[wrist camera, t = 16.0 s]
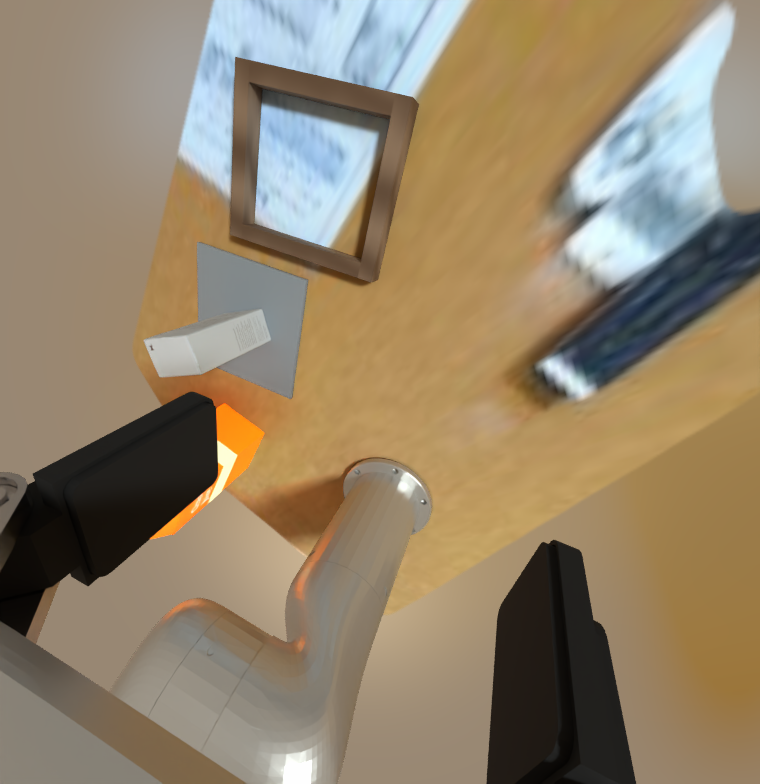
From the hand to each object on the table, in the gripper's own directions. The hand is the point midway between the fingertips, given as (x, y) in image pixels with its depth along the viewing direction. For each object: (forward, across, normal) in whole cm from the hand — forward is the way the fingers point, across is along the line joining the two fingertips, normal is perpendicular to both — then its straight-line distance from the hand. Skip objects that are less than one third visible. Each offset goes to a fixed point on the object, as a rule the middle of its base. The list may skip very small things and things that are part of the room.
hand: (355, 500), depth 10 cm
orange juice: (+30, +28, +30) cm, 51 cm away
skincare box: (+30, +26, +11) cm, 41 cm away
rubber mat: (+30, +26, +11) cm, 41 cm away
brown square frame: (+30, +18, -7) cm, 36 cm away
